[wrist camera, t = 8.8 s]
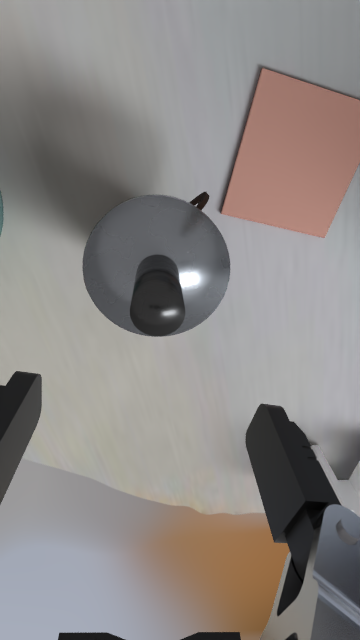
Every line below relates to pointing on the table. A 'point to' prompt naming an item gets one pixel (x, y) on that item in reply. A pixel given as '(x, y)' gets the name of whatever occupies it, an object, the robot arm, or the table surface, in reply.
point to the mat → (294, 155)
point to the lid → (156, 265)
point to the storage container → (342, 483)
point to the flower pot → (1, 213)
